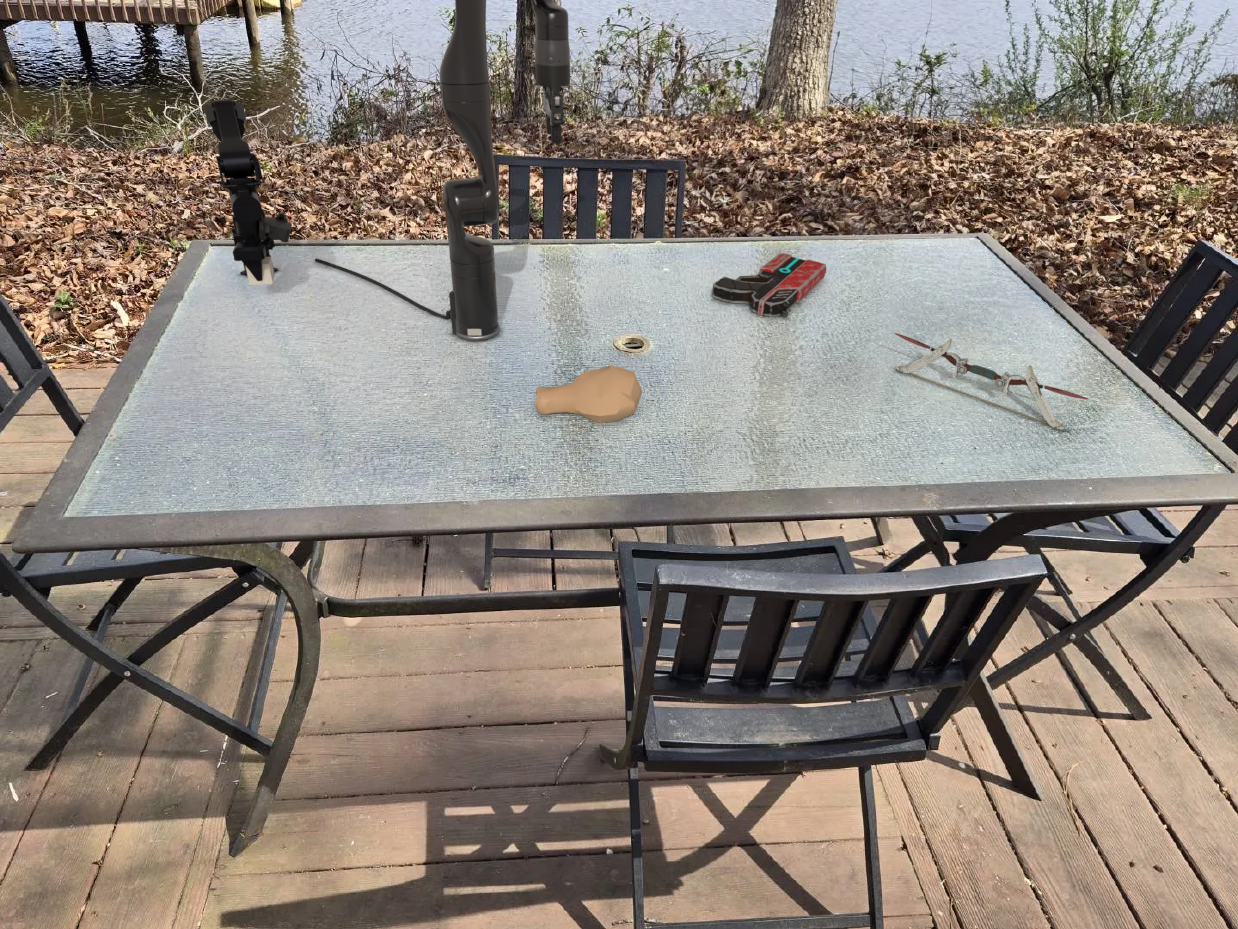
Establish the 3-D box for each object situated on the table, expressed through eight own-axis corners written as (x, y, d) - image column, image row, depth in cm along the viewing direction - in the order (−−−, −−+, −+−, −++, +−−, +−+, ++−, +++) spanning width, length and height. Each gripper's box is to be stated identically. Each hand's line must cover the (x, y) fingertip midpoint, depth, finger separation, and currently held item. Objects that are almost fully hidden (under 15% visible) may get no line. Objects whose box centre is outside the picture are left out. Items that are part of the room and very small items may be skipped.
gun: (708, 284, 207) (784, 305, 199) (760, 245, 229) (831, 262, 221) (706, 302, 209) (781, 323, 201) (758, 261, 231) (828, 278, 223)
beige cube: (272, 283, 199) (268, 263, 196) (249, 285, 198) (245, 265, 195) (274, 276, 202) (270, 256, 200) (252, 277, 201) (247, 257, 199)
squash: (644, 429, 161) (640, 391, 154) (537, 437, 162) (528, 400, 156) (643, 392, 168) (639, 354, 162) (541, 400, 170) (533, 363, 164)
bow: (1077, 432, 163) (1095, 385, 158) (1074, 436, 162) (1091, 388, 156) (889, 364, 184) (899, 320, 179) (885, 367, 183) (895, 323, 178)
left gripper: (281, 220, 185) (294, 290, 194) (289, 194, 200) (301, 259, 209) (225, 223, 183) (241, 293, 191) (237, 196, 198) (251, 262, 206)
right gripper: (574, 66, 185) (575, 146, 194) (565, 55, 196) (565, 130, 205) (539, 67, 183) (541, 147, 192) (531, 55, 195) (533, 131, 204)
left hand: (261, 276), depth 200 cm, fingers closed on beige cube, 4 cm apart
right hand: (553, 138), depth 199 cm, fingers open, 8 cm apart
